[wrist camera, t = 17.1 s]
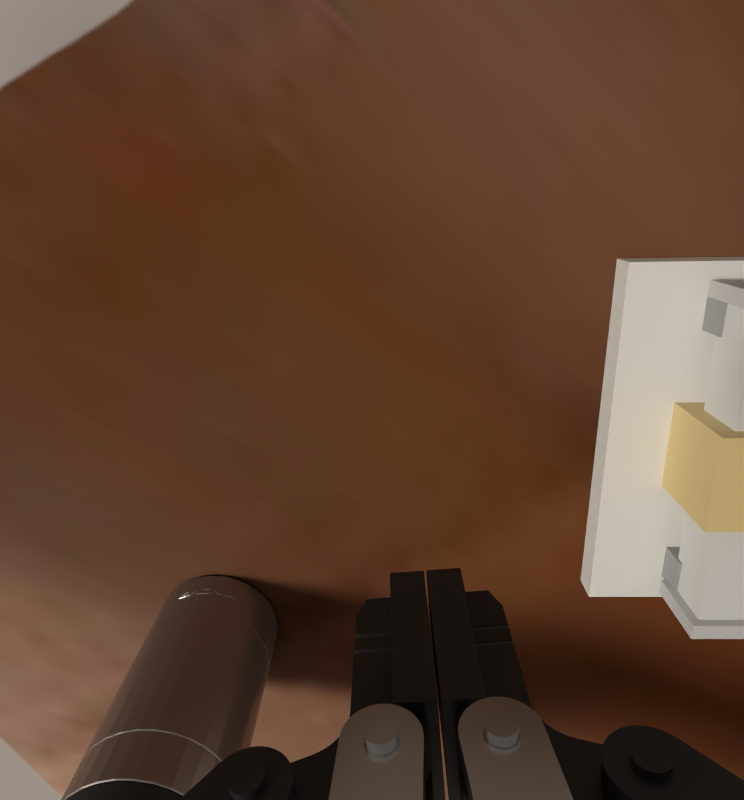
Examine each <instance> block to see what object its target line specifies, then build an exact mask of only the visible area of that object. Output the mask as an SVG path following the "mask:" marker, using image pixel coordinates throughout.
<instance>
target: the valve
mask: <svg viewBox="0 0 744 800" xmlns="http://www.w3.org/2000/svg"><path fill="white" fill-rule="evenodd" d="M581 582H582V584H583V586H584V588H585V590H586V592H587V594H588V596H589V597H663V598H664V600H665V601H666V603H667V604H668V606H669V607H670V609H671V610H672V612H673V613H674V614H675V616H676V617H677V619H678V620H679V622H680V623H681V625H682V626H683V628H684V629H685V631H686V632H687V634H688V635H689V636H690V638H691V639H744V257H691V258H617V264H616V273H615V282H614V290H613V299H612V308H611V317H610V326H609V334H608V343H607V352H606V361H605V370H604V379H603V387H602V396H601V405H600V414H599V423H598V431H597V440H596V449H595V458H594V467H593V476H592V484H591V493H590V502H589V511H588V520H587V528H586V537H585V546H584V555H583V564H582V573H581Z"/></svg>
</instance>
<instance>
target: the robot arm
mask: <svg viewBox="0 0 744 800" xmlns="http://www.w3.org/2000/svg"><path fill="white" fill-rule="evenodd" d="M427 584H428V597H429V609H430V621H431V633H432V645H433V655H434V665H435V674H436V683H437V693H438V702H439V711H440V721H441V730H442V739H443V749H444V758H445V767H446V776H447V786H448V795H449V800H744V781H743V780H742V779H740V778H739V777H737V776H736V775H734V774H732V773H731V772H729V771H728V770H726V769H725V768H723V767H721V766H720V765H718V764H717V763H715V762H714V761H712V760H711V759H709V758H707V757H706V756H704V755H703V754H701V753H700V752H698V751H696V750H695V749H693V748H692V747H690V746H689V745H687V744H685V743H684V742H682V741H681V740H679V739H678V738H676V737H674V736H672V735H671V734H669V733H667V732H664V731H662V730H660V729H656V728H653V727H648V726H638V725H634V726H626V727H623V728H620V729H617V730H615V731H614V732H612V733H611V734H610V735H609V736H608V737H607V738H606V740H605V742H604V744H598V743H594V742H589V741H585V740H580V739H576V738H572V737H569V736H567V735H564V734H562V733H560V732H558V731H556V730H554V729H553V728H551V727H550V726H548V725H547V724H546V723H545V722H544V721H542V720H541V718H540V717H539V716H538V714H537V713H536V712H535V711H534V709H533V708H532V706H531V703H530V700H529V697H528V693H527V690H526V686H525V683H524V679H523V676H522V673H521V669H520V666H519V662H518V659H517V655H516V652H515V648H514V645H513V643H512V638H511V634H510V631H509V628H508V624H507V620H506V617H505V613H504V610H503V606H502V605H501V604H500V603H499V602H498V601H497V600H496V599H495V598H494V596H493V595H492V594H491V593H490V592H489V591H488V590H487V591H473V592H465V589H464V584H463V579H462V574H461V570H460V568H452V569H438V570H427ZM390 588H391V598H377V599H367V601H366V602H365V604H364V605H363V607H362V608H361V610H360V612H359V613H358V615H357V618H356V633H355V636H356V638H355V649H354V651H355V654H354V664H353V680H352V695H351V711H350V718H349V719H348V720H347V721H346V723H345V724H344V726H343V728H342V730H341V732H340V736H339V738H338V739H337V740H336V741H335V742H334V743H332V744H331V745H330V746H328V747H327V748H325V749H324V750H322V751H320V752H318V753H316V754H313V755H311V756H308V757H305V758H303V759H300V760H297V761H294V762H292V763H290V762H289V761H288V759H287V758H286V757H285V756H284V755H283V754H282V753H281V752H279V751H277V750H276V749H273V748H270V747H263V746H256V747H250V745H251V741H252V737H253V733H254V728H255V724H256V720H257V716H258V712H259V708H260V703H261V699H262V695H263V691H264V687H265V683H266V678H267V675H268V671H269V667H270V663H271V658H272V654H273V650H274V646H275V641H276V636H277V631H278V630H277V619H276V616H275V613H274V610H273V609H272V607H271V605H270V604H269V602H268V601H267V600H266V599H265V598H264V596H263V595H262V594H261V593H260V592H258V591H257V590H256V589H254V588H253V587H251V586H250V585H248V584H246V583H244V582H242V581H239V580H236V579H233V578H229V577H223V576H205V577H199V578H196V579H192V580H189V581H188V582H186V583H184V584H182V585H180V586H179V587H178V588H177V589H175V590H174V591H173V592H172V593H171V594H170V596H169V597H168V599H167V600H166V602H165V604H164V605H163V607H162V609H161V611H160V613H159V615H158V617H157V619H156V621H155V622H154V624H153V626H152V628H151V630H150V632H149V634H148V635H147V637H146V639H145V641H144V643H143V645H142V647H141V648H140V650H139V652H138V654H137V656H136V658H135V660H134V662H133V664H132V666H131V667H130V669H129V671H128V673H127V675H126V677H125V679H124V681H123V683H122V685H121V686H120V688H119V690H118V692H117V694H116V696H115V698H114V700H113V702H112V704H111V705H110V707H109V709H108V711H107V713H106V715H105V717H104V719H103V721H102V723H101V724H100V726H99V728H98V730H97V732H96V734H95V736H94V738H93V740H92V742H91V744H90V745H89V747H88V749H87V751H86V753H85V755H84V757H83V759H82V761H81V763H80V764H79V767H78V769H77V771H76V773H75V774H74V776H73V778H72V780H71V782H70V784H69V786H68V788H67V790H66V791H65V793H64V795H63V797H62V799H61V800H445V790H444V778H443V766H442V753H441V741H440V729H439V716H438V704H437V694H436V684H435V675H434V665H433V656H432V646H431V637H430V627H429V617H428V608H427V598H426V589H425V579H424V571H413V572H399V573H390Z"/></svg>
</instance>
